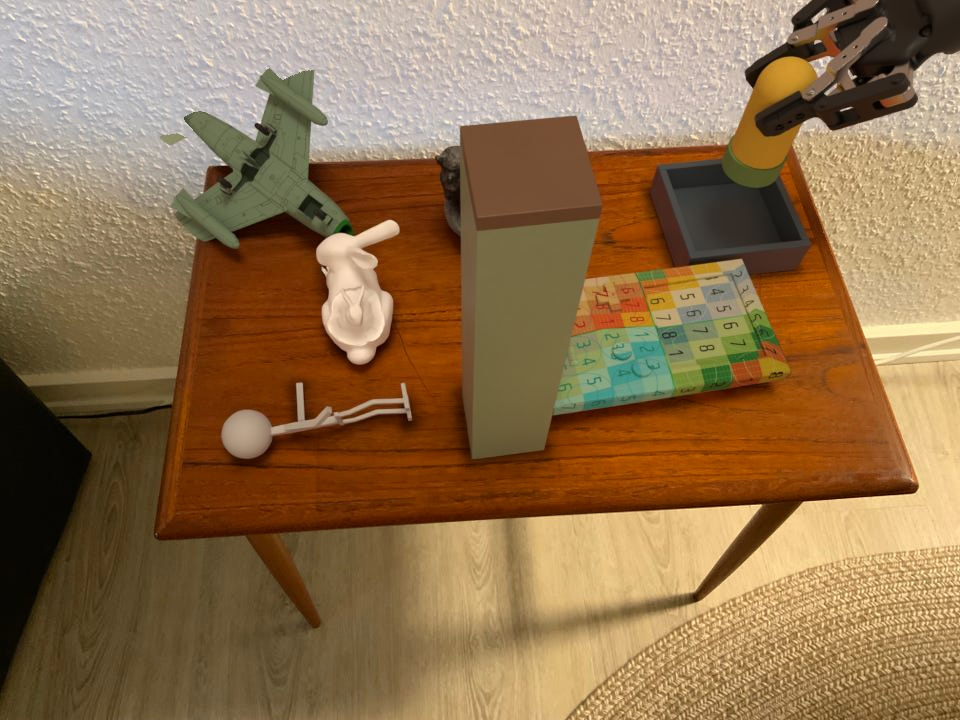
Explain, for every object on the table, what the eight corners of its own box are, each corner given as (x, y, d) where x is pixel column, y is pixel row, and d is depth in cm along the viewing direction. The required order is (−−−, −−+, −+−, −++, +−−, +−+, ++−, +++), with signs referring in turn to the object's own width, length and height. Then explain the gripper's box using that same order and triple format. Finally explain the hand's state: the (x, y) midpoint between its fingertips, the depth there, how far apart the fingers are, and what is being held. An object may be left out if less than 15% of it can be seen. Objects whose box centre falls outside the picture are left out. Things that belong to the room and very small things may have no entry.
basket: (795, 270, 70) (812, 245, 67) (679, 283, 69) (690, 258, 66) (756, 180, 76) (769, 153, 72) (648, 191, 75) (657, 164, 71)
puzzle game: (524, 282, 63) (745, 252, 65) (520, 312, 67) (728, 283, 69) (554, 403, 58) (796, 366, 60) (548, 428, 62) (774, 392, 64)
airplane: (330, 236, 63) (379, 267, 73) (343, -9, 67) (388, 51, 76) (104, 253, 70) (176, 279, 80) (127, 30, 73) (193, 81, 83)
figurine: (397, 342, 58) (203, 377, 57) (410, 417, 56) (211, 455, 55) (402, 365, 64) (227, 397, 62) (414, 434, 62) (234, 468, 61)
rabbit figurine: (321, 265, 69) (301, 195, 61) (401, 255, 70) (392, 184, 62) (331, 377, 63) (310, 316, 55) (418, 364, 64) (411, 302, 56)
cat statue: (562, 208, 73) (574, 131, 65) (561, 265, 70) (574, 192, 61) (441, 200, 74) (438, 123, 65) (435, 257, 70) (430, 183, 61)
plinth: (544, 450, 61) (603, 204, 35) (471, 459, 60) (476, 217, 34) (531, 386, 64) (576, 114, 37) (462, 394, 63) (459, 125, 37)
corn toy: (787, 185, 64) (841, 83, 54) (731, 190, 63) (777, 89, 54) (768, 143, 66) (817, 39, 57) (714, 148, 66) (755, 44, 57)
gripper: (951, -139, 50) (719, 16, 60) (1023, -7, 43) (744, 143, 53) (982, -59, 54) (761, 73, 65) (1051, 73, 47) (790, 196, 58)
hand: (755, 104), depth 59 cm, fingers closed on corn toy, 4 cm apart
